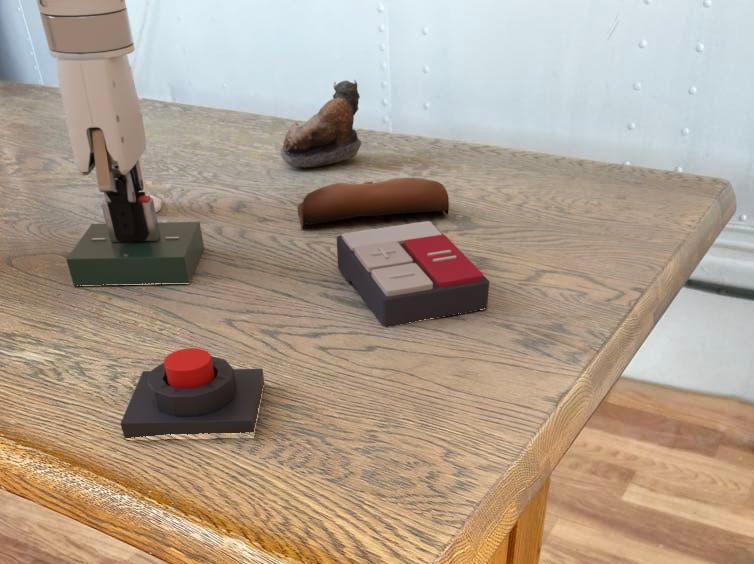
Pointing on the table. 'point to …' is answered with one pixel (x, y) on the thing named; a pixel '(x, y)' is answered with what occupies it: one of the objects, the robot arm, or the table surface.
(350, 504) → the table surface
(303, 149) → the animal figurine
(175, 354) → the red button
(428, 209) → the sunglasses case
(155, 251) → the panel
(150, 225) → the block knob
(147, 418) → the button box
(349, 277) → the calculator
